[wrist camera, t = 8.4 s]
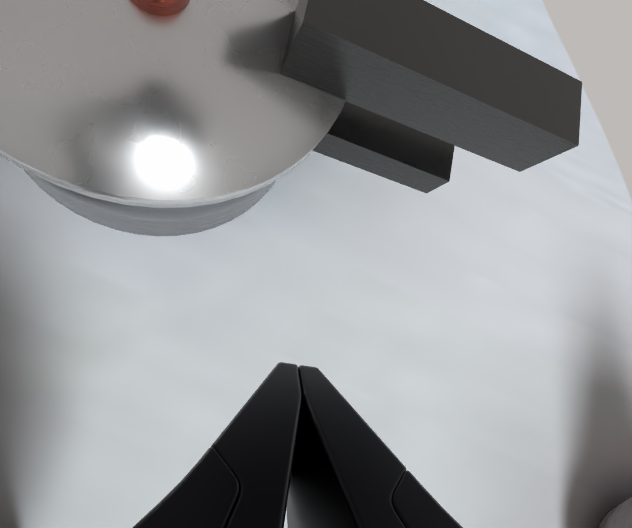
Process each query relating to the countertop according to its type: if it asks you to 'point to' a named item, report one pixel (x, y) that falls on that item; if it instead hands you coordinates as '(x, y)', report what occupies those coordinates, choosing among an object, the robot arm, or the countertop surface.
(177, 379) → the countertop surface
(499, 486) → the countertop surface
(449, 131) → the cooker lid
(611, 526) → the coffee pot
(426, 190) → the cooker pot
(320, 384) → the robot arm
